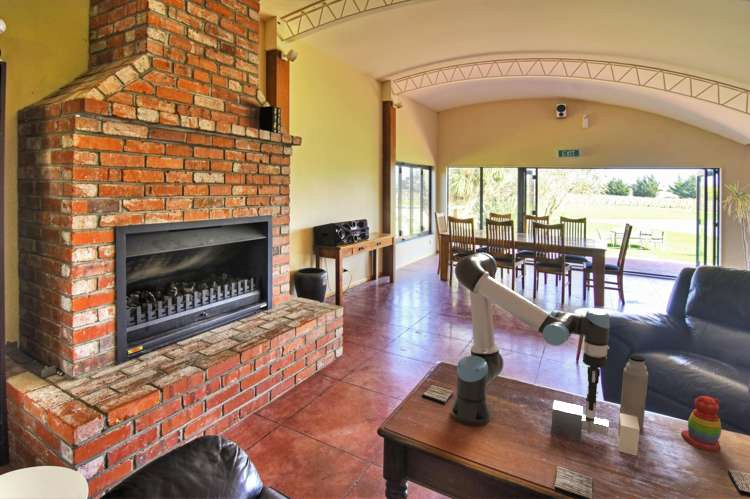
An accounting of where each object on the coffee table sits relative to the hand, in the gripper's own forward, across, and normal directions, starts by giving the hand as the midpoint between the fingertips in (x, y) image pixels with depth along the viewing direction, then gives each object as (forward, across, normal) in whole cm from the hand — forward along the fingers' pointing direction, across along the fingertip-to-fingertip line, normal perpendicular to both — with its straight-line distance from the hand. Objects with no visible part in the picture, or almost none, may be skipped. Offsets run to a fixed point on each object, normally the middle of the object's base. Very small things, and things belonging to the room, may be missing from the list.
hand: (590, 413), depth 152 cm
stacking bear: (+9, +15, -36) cm, 41 cm away
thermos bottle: (+9, +16, -14) cm, 24 cm away
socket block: (+9, 0, -12) cm, 15 cm away
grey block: (+9, 0, +8) cm, 12 cm away
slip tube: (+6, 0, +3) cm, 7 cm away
